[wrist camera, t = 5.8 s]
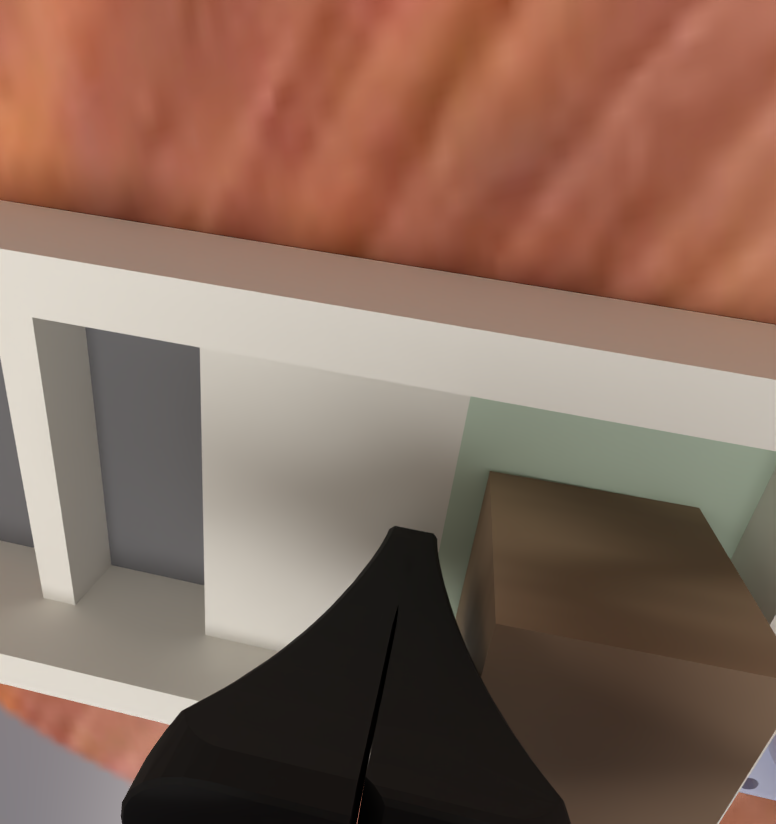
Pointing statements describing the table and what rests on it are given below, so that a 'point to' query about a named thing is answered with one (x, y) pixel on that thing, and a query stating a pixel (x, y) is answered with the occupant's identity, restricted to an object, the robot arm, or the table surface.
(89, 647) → the track
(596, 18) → the table surface
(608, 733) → the walnut block
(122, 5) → the table surface
